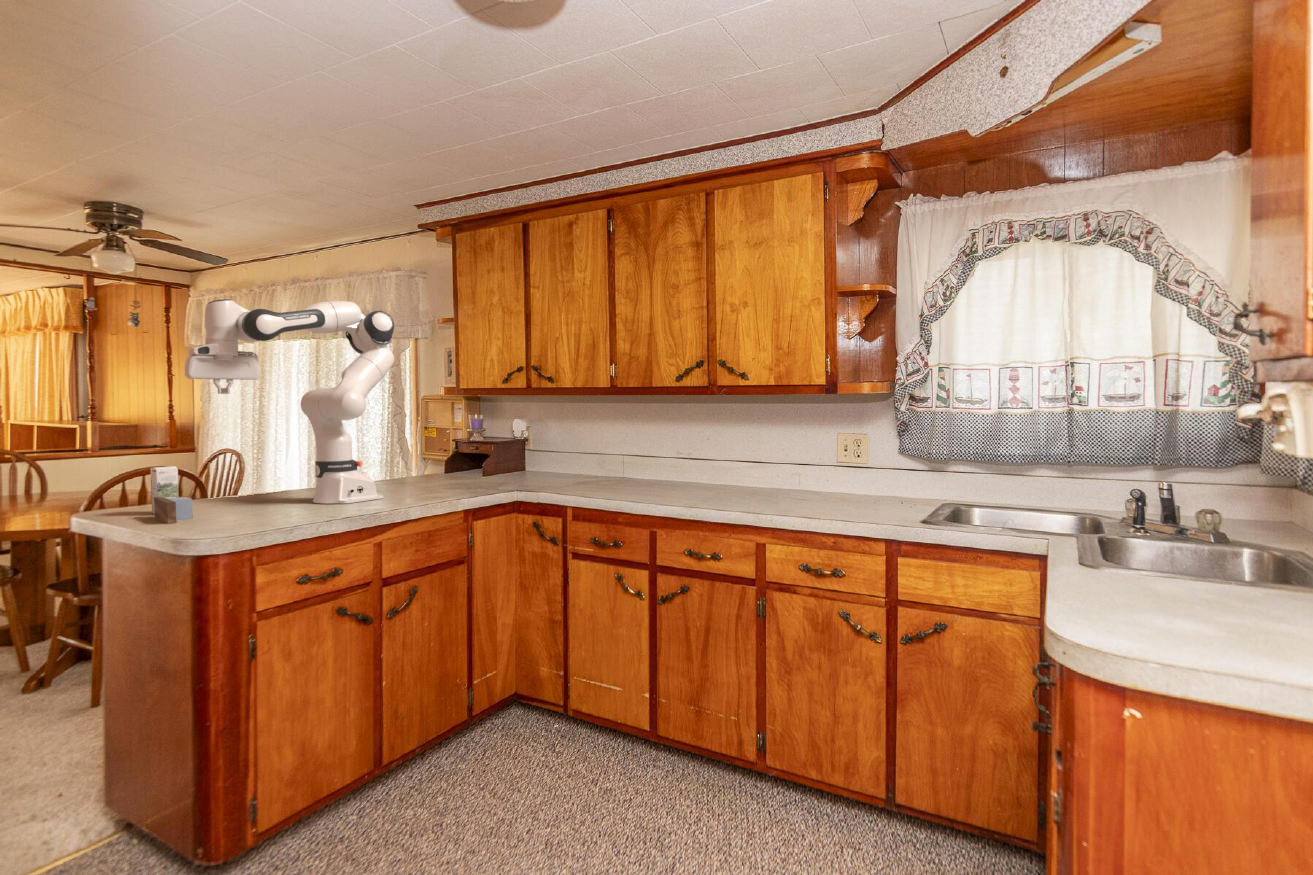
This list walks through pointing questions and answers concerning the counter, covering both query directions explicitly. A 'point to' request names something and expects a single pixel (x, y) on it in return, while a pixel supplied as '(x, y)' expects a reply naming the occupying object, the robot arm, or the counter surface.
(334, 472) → the robot arm
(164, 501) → the walnut board
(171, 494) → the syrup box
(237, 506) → the counter surface
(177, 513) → the blue block
